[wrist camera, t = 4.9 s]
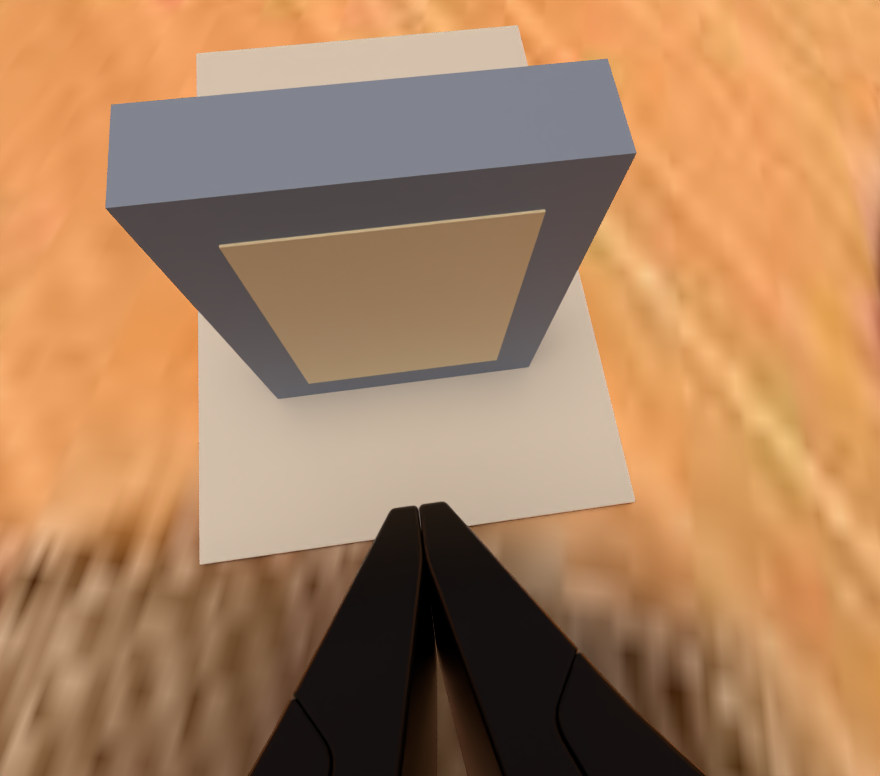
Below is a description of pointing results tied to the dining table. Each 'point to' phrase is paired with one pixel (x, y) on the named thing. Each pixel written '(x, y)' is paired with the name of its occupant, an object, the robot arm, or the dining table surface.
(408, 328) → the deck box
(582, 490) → the mat
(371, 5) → the dining table surface
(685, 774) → the robot arm
